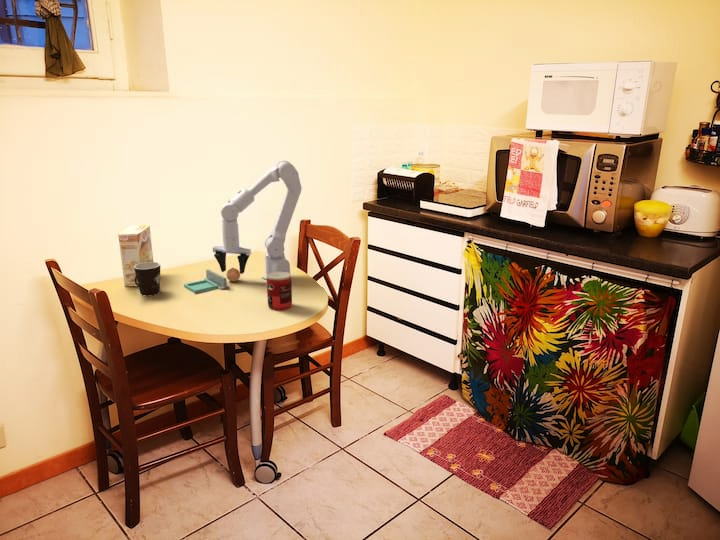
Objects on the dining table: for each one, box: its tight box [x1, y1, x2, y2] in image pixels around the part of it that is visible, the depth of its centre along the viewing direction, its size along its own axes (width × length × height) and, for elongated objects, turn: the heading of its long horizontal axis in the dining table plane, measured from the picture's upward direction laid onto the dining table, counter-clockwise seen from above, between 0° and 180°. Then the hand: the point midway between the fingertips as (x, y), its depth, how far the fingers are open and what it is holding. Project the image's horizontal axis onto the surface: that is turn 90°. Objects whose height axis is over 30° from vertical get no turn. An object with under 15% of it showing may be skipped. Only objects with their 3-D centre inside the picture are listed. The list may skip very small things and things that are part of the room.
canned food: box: [266, 271, 293, 311], centre depth 177 cm, size 8×8×11 cm
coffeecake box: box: [117, 224, 154, 285], centre depth 201 cm, size 15×7×20 cm, turn 4°
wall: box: [203, 269, 230, 291], centre depth 199 cm, size 14×3×4 cm, turn 41°
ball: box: [226, 267, 241, 283], centre depth 202 cm, size 5×5×5 cm
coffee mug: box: [134, 261, 161, 297], centre depth 187 cm, size 12×9×10 cm
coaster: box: [183, 278, 220, 294], centre depth 195 cm, size 9×9×1 cm
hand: (232, 272), depth 202 cm, fingers open, 7 cm apart
